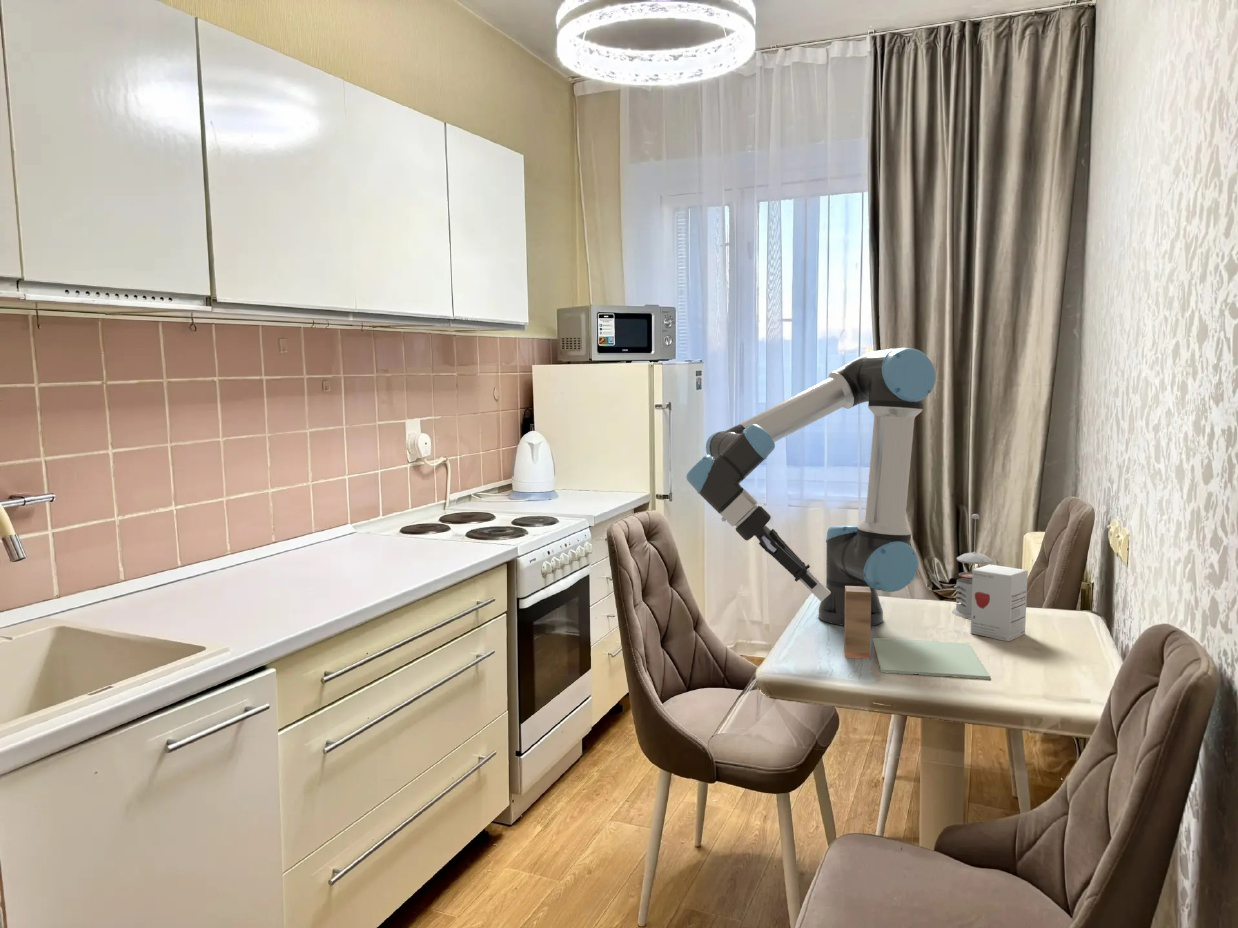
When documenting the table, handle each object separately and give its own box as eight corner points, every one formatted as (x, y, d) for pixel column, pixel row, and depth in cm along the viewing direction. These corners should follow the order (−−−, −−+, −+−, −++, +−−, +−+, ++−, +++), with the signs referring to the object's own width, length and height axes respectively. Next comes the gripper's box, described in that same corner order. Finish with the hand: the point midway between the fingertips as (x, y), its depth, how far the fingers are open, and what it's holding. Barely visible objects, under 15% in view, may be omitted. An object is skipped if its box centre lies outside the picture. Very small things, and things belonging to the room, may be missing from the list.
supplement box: (968, 633, 191) (970, 568, 189) (986, 626, 197) (988, 563, 195) (1009, 642, 184) (1011, 575, 183) (1026, 634, 190) (1028, 569, 189)
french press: (986, 608, 212) (989, 511, 210) (1003, 621, 201) (1006, 517, 199) (946, 608, 213) (949, 511, 211) (960, 620, 202) (963, 517, 200)
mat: (872, 640, 186) (872, 637, 186) (969, 645, 181) (969, 643, 181) (881, 672, 164) (881, 669, 164) (990, 679, 160) (990, 676, 160)
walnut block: (844, 650, 179) (845, 585, 178) (868, 651, 178) (869, 586, 177) (845, 657, 174) (846, 591, 173) (870, 658, 173) (871, 592, 172)
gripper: (736, 523, 186) (812, 601, 183) (730, 533, 173) (812, 616, 171) (760, 500, 184) (838, 578, 182) (757, 508, 172) (840, 591, 169)
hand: (825, 596), depth 176 cm, fingers closed
